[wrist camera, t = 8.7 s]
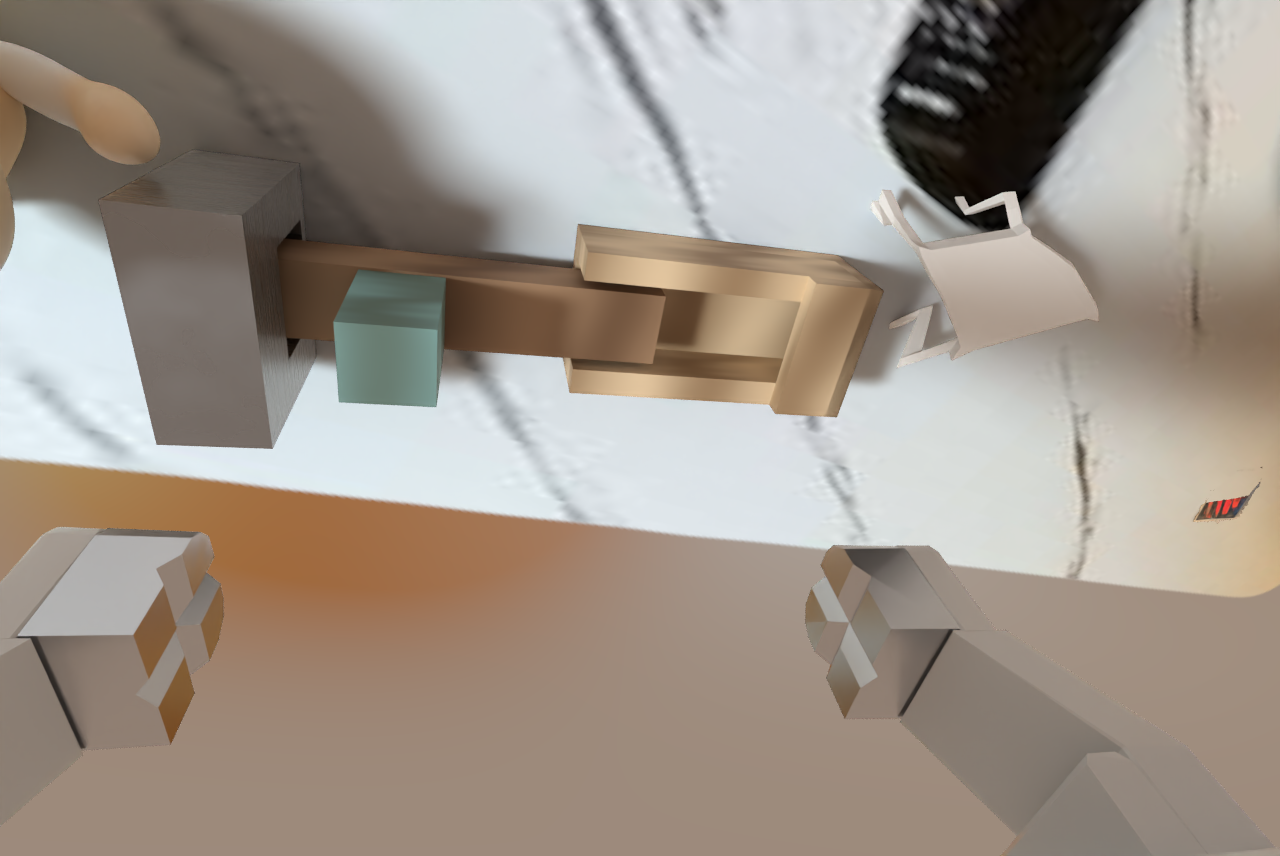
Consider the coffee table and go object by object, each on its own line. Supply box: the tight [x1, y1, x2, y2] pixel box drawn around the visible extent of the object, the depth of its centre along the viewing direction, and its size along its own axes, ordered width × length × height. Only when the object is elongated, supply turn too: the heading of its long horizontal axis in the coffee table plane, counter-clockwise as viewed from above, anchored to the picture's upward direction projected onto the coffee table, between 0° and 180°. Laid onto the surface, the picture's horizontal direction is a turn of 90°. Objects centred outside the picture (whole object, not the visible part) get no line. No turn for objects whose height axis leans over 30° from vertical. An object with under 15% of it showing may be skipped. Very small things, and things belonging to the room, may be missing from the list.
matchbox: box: [1194, 467, 1262, 524], centre depth 46 cm, size 5×5×1 cm
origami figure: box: [870, 190, 1099, 368], centre depth 30 cm, size 12×8×5 cm
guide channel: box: [563, 224, 884, 417], centre depth 29 cm, size 12×6×4 cm, turn 80°
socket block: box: [98, 150, 316, 449], centre depth 24 cm, size 4×8×7 cm, turn 170°
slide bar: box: [277, 238, 666, 407], centre depth 25 cm, size 16×3×7 cm, turn 80°
